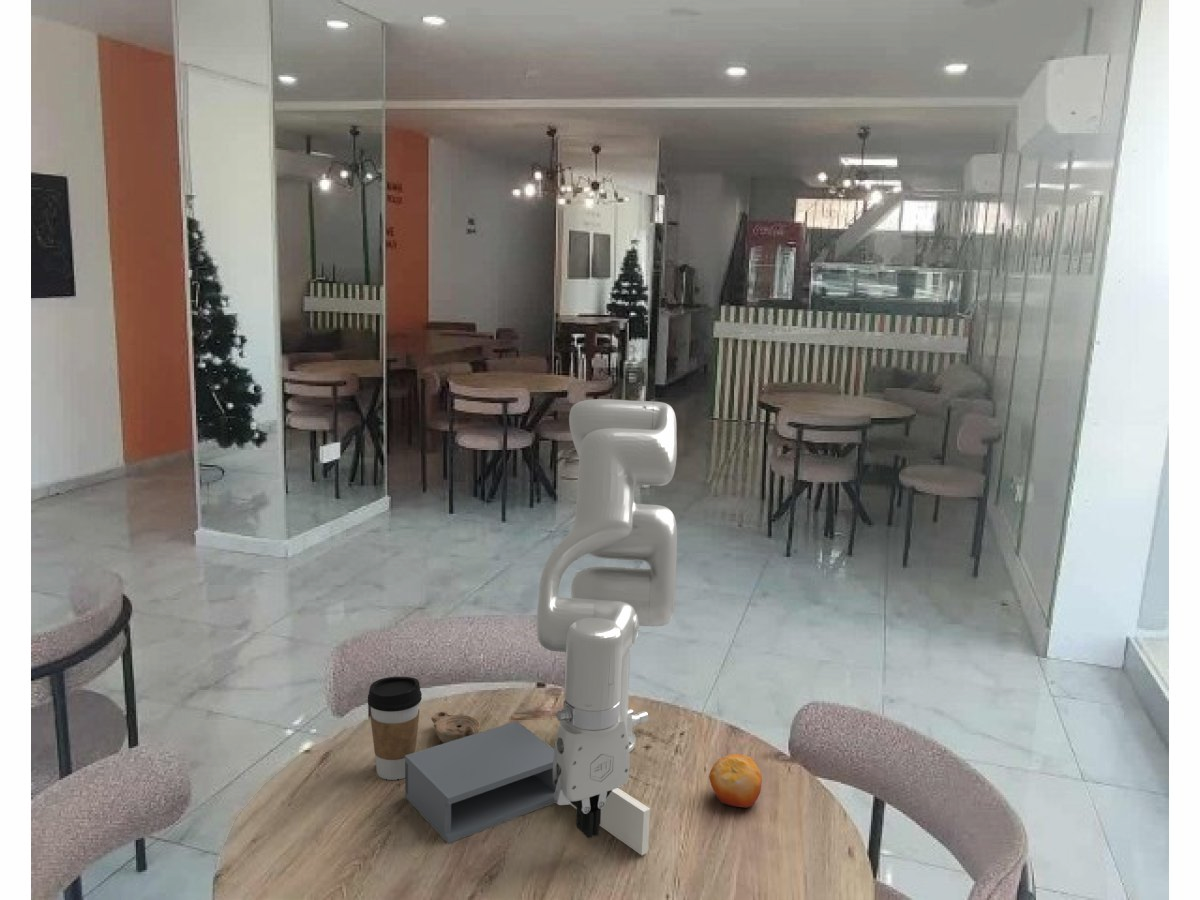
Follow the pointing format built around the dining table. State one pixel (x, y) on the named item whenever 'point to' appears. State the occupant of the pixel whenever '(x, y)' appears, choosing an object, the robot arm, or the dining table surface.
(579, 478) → the robot arm
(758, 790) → the fruit
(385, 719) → the coffee cup
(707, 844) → the dining table surface
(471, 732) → the oil lamp
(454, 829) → the cabinet
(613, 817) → the door
